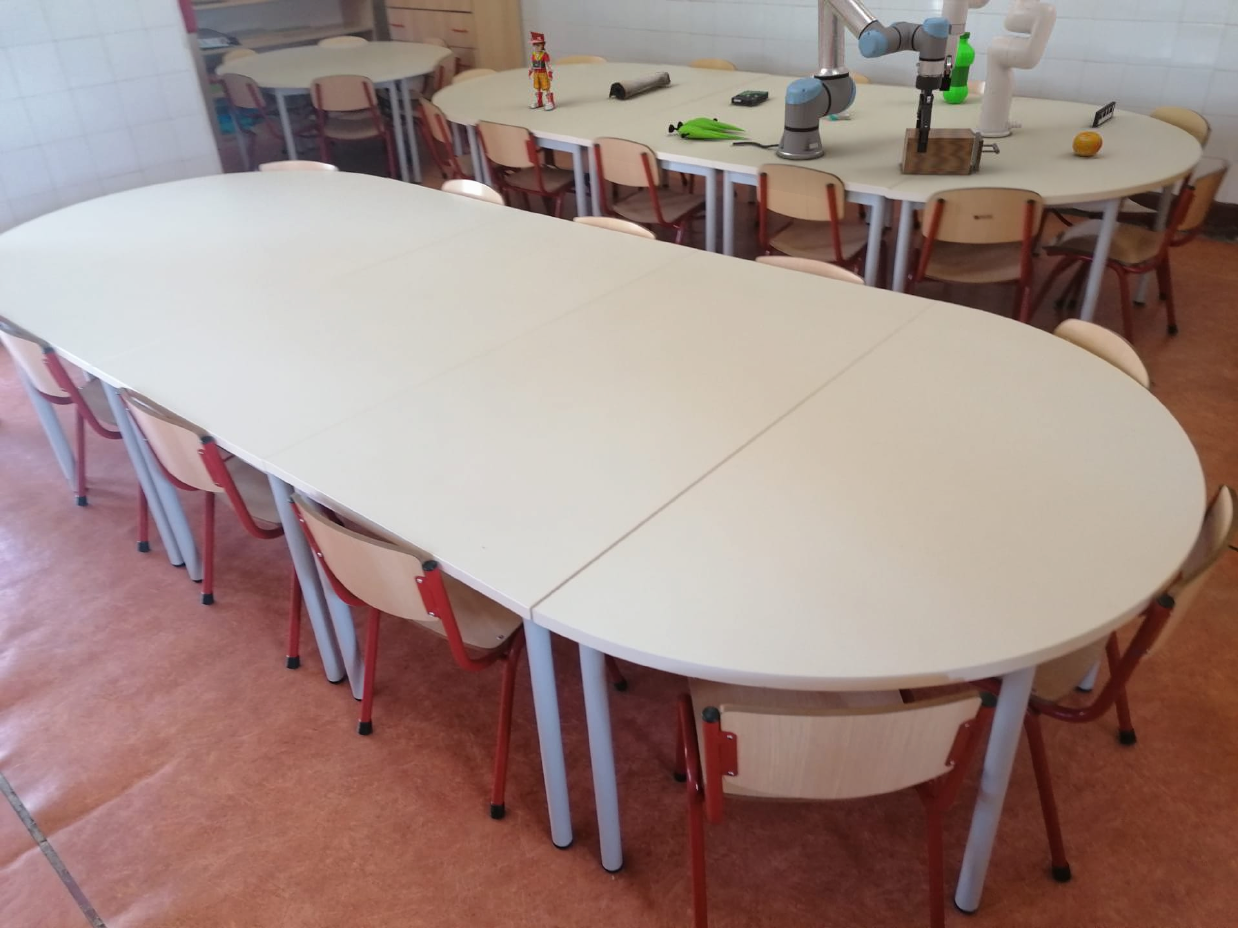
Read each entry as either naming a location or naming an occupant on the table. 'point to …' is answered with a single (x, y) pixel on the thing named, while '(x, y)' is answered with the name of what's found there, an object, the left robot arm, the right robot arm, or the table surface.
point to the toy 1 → (541, 71)
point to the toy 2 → (704, 129)
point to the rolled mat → (638, 84)
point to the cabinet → (938, 151)
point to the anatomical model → (839, 116)
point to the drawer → (978, 150)
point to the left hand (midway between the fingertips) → (919, 146)
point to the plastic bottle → (960, 71)
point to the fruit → (1087, 143)
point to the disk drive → (749, 98)
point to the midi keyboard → (1104, 113)
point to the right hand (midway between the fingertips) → (943, 87)
